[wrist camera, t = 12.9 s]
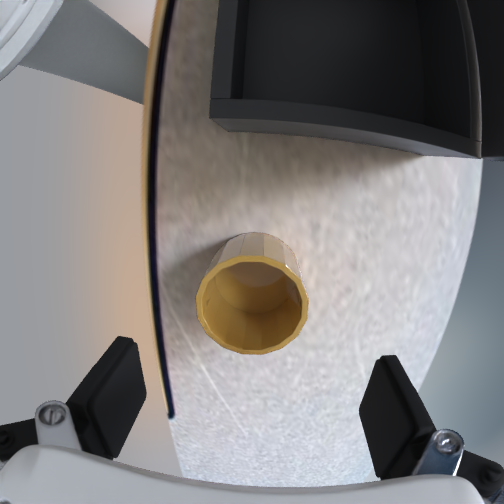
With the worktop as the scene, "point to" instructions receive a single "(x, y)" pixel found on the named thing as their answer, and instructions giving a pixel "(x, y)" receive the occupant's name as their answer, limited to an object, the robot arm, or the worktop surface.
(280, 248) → the cup
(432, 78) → the dark grey storage bin
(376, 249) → the worktop surface
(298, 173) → the worktop surface
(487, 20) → the lid
